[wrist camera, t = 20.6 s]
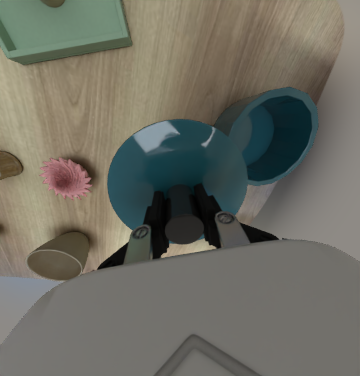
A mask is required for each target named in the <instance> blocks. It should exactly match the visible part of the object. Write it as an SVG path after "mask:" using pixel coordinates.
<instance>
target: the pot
mask: <svg viewBox="0 0 360 376" xmlns="http://www.w3.org/2000/svg"><path fill="white" fill-rule="evenodd" d="M214 127H215V128H216V129H218V130H220V131H221V132H223V133H224V134H225V135H227V136H228V137H229V138H230V139H231V140H232V141H233V142H234V143H235V145H236V146H237V147H238V149H239V150H240V152H241V154H242V156H243V158H244V161H245V164H246V168H247V175H248V184H249V185H254V186H260V185H266V184H271V183H273V182H275V181H277V180H279V179H281V178H283V177H285V176H287V175H288V174H289V173H290V172H292V170H294V169H295V168H296V167H297V166H298V165H299V164H300V163H301V162H302V161H303V159H304V158H305V156H306V155H307V153H308V152H309V150H310V149H311V147H312V146H313V143H314V139H315V136H316V133H317V130H318V113H317V107H316V105H315V104H314V102H313V101H312V99H311V98H310V96H309V95H308V94H307V93H305V92H302V91H300V90H297V89H294V88H292V87H286V88H280V89H275V90H269V91H266V92H263V93H260V94H257V95H254V96H251V97H247V98H244V99H241V100H239V101H237V102H236V103H234V104H232V105H231V106H229V107H228V108H227V109H226V110H225V111H224V112H223V113H222V114H221V115H220V116H219V118H218V119H217V121H216V123H215V125H214Z"/></svg>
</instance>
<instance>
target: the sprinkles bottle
mask: <svg viewBox="0 0 360 376" xmlns="http://www.w3.org/2000/svg"><path fill="white" fill-rule="evenodd" d="M21 172H22V167H21V164H20V162H19V161H18V160H17V159H16V158H15V157H14V156H12V155H11V154H9V153H6V152H2V151H0V180H2V179H5V178H7V177H11V176H16V175H18V174H20V173H21Z"/></svg>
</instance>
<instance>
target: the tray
mask: <svg viewBox="0 0 360 376" xmlns="http://www.w3.org/2000/svg"><path fill="white" fill-rule="evenodd" d="M131 45H132V42H131V37H130V33H129V29H128V25H127V21H126V16H125V12H124V8H123V4H122V0H65V1H64V3H63V4H62V5H61V6H59V7H50V6H47V5H46V4H44V3H43V2H41V1H40V0H0V47H1V48H2V50H3V52H4V54H5V55H6V57H7V58H8V59H10V60H13V61H15V62H18V63H20V64H22V65H25V64H30V63H36V62H42V61H47V60H53V59H58V58H64V57H70V56H75V55H81V54H86V53H92V52H98V51H103V50H109V49H114V48H120V47H125V46H131Z"/></svg>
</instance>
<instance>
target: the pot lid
mask: <svg viewBox="0 0 360 376" xmlns="http://www.w3.org/2000/svg"><path fill="white" fill-rule="evenodd" d="M200 183H202V185H203V187H204V189H205V191H206V193H207V194H208V196H210V195H213V196H214V197H215V199H216V201H217V202H218V204H219V206H220V207H221V209H222V211H228V212H231V213H233V214H234V215H236V213H237V212H238V210H239V209H240V207H241V205H242V203H243V201H244V198H245V195H246V191H247V185H248V175H247V168H246V164H245V161H244V158H243V156H242V154H241V152H240V150H239V149H238V147H237V146H236V145H235V143H234V142H233V141H232V140H231V139H230V138H229V137H228V136H227V135H225V134H224V133H223V132H221V131H220V130H218V129H216V128H215V127H213V126H211V125H208V124H205V123H202V122H199V121H194V120H188V119H173V120H165V121H161V122H157V123H154V124H151V125H149V126H147V127H144V128H142V129H141V130H139V131H138V132H136V133H134V134H133V135H132V136H131V137H130V138H128V139H127V140H126V141H125V142H124V143H123V145H122V146H121V147H120V148H119V149H118V151H117V153H116V154H115V156H114V158H113V160H112V163H111V165H110V168H109V173H108V181H107V186H108V194H109V198H110V202H111V204H112V207H113V209H114V210H115V212H116V214H117V215H118V217H119V218H120V219H121V220H122V222H123V223H124V224H125V225H126V226H128V227H129V228H130V229H131V230H134V229H135V228H136V227H138V226H140V225H143V221H144V217H145V214H146V210H147V207H148V206H151V205H152V200H153V196H154V191H159V190H161V192H163V193H164V197H165V201H166V203H165V222H164V232H165V236H166V237H167V239H168V240H169V243H172V244H190V243H193V242H195V241H197V240H200V239H203V238H204V234H203V233H204V229H205V228H204V223H203V220H202V217H201V214H200V211H199V208H198V205H197V202H196V199H195V193H194V186H196V184H200Z"/></svg>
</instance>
